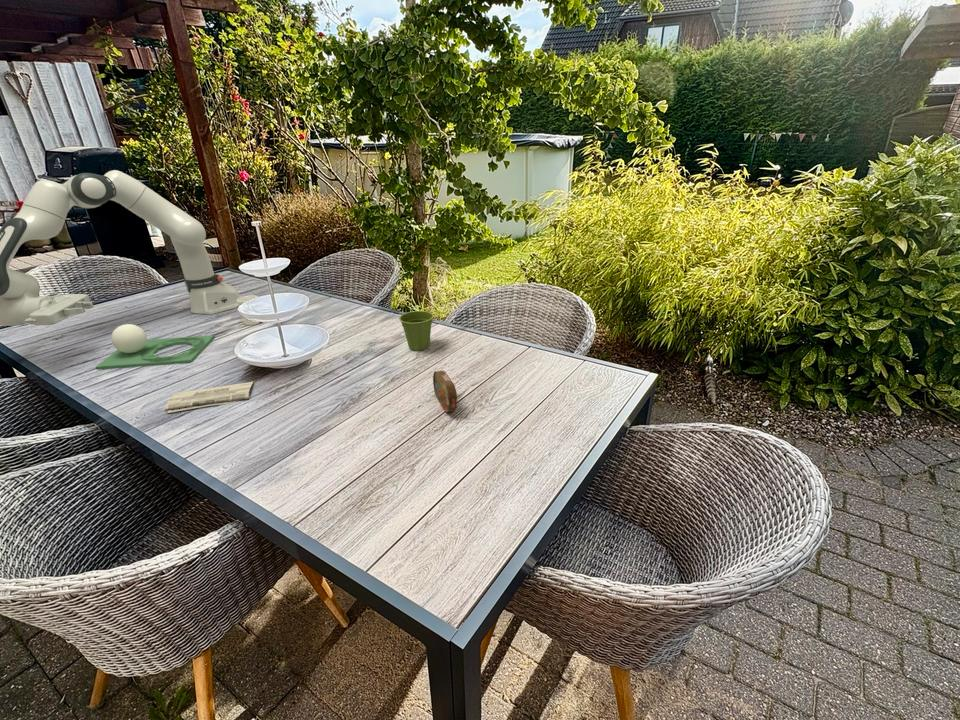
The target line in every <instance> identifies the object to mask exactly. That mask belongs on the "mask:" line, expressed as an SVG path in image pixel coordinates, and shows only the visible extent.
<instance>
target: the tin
mask: <svg viewBox="0 0 960 720" xmlns="http://www.w3.org/2000/svg"><path fill="white" fill-rule="evenodd" d="M432 384H433V392H434V395H435V397H436V399H437V401H438V402H439V404H440V406H441V408H442V409H443V411H444V412H445V413H449V412H454V411H456V410H457V406H458V405H457V404H458V403H457V402H458V394H457V390H456V389H457V388H456V385H455V383H454V382H453V381H452V379H451V378H450V376H449V375H448V374H447V372H446V371H445V370H438V371H437V370H435V371H434V372H433V374H432Z"/></svg>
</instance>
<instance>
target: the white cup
mask: <svg viewBox="0 0 960 720" xmlns="http://www.w3.org/2000/svg"><path fill="white" fill-rule="evenodd" d="M255 298H259V296H258V295H256V294H255V295H244V296H243V297H240V298H238V299H237V303H238V307H237V308H239V306H240V305H242V304H243V303H245V302H247V301H249V300H252V299H255ZM241 318H242V320H243V323H244V325H246V326H254V325H258V324H260V323H258V322H253V321H251V320H248V319H246V318H244V317H242V316H241Z"/></svg>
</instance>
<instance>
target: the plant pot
mask: <svg viewBox="0 0 960 720" xmlns="http://www.w3.org/2000/svg"><path fill="white" fill-rule="evenodd" d="M433 318H435V315H434V313H433V312H430V311H427V310H412V311H408V312H405V313H402V314H401V315H399V317H398V320H399V321H400V323H401V326H402V327H403V330H404V334H405V338H406V341H407V346H408V348H409V349H410V350H412V351H420V350H421V351H422V350H424V351H425V350H427V349H428V348H429V347H430V344H431V332H432V330H431V329H432V323H433Z"/></svg>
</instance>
